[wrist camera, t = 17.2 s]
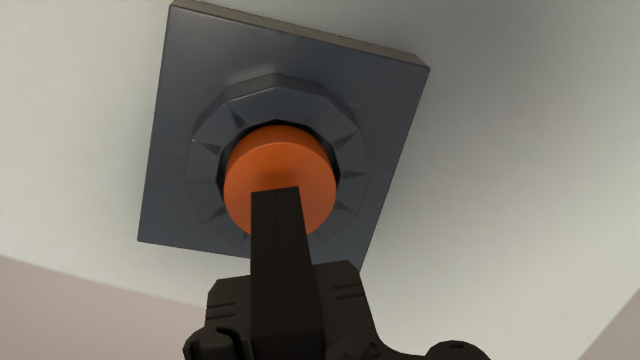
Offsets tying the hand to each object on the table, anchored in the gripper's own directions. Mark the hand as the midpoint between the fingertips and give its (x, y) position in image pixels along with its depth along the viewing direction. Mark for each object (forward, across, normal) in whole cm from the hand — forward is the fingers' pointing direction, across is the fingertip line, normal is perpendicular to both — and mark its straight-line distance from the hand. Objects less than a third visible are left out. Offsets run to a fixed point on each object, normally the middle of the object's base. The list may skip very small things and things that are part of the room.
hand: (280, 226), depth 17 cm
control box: (+7, 0, 0) cm, 7 cm away
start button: (+4, 0, 0) cm, 4 cm away
